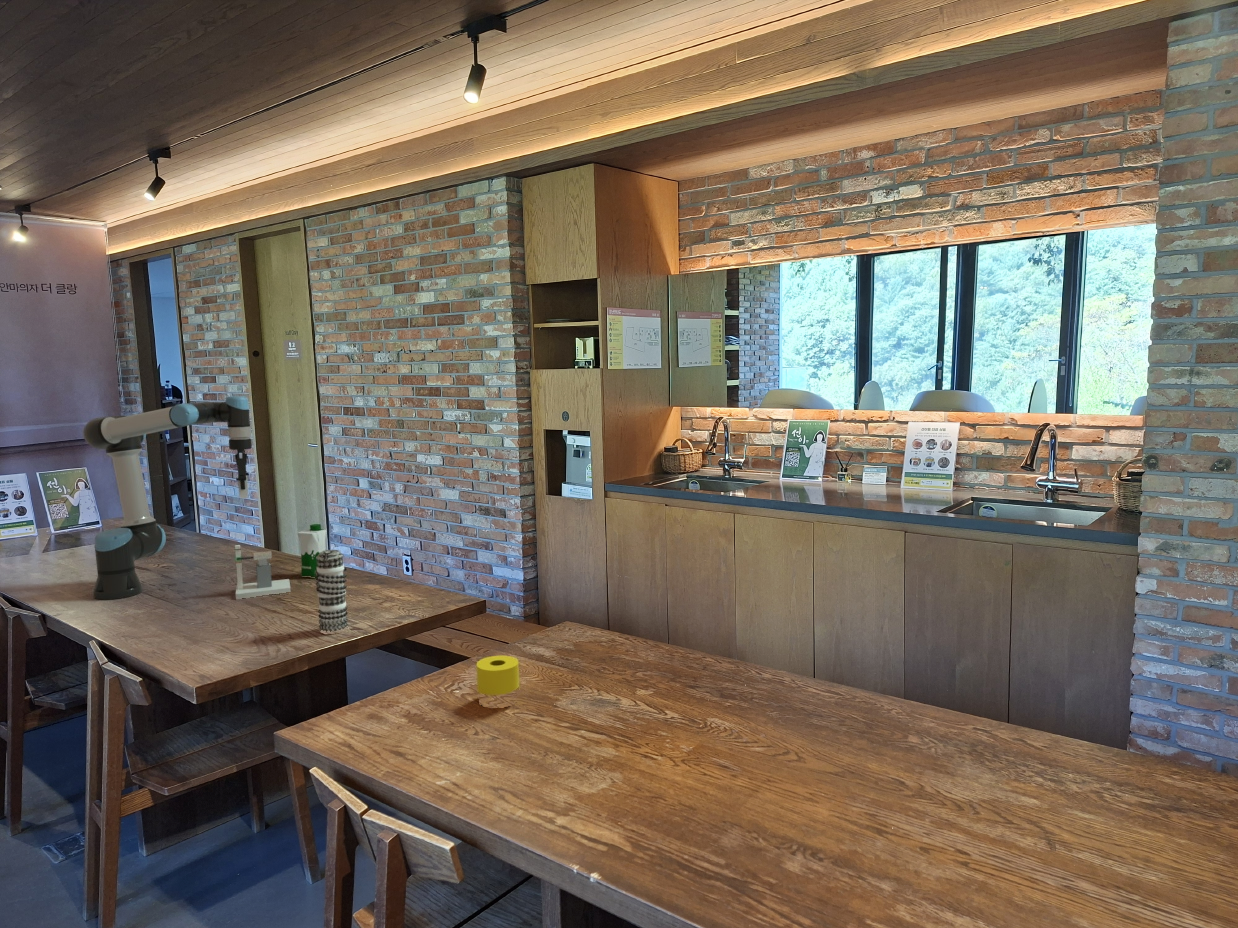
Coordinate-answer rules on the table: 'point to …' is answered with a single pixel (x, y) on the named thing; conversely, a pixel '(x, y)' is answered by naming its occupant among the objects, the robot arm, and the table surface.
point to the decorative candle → (331, 590)
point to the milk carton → (311, 548)
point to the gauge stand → (258, 581)
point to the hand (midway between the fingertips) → (243, 495)
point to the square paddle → (260, 557)
